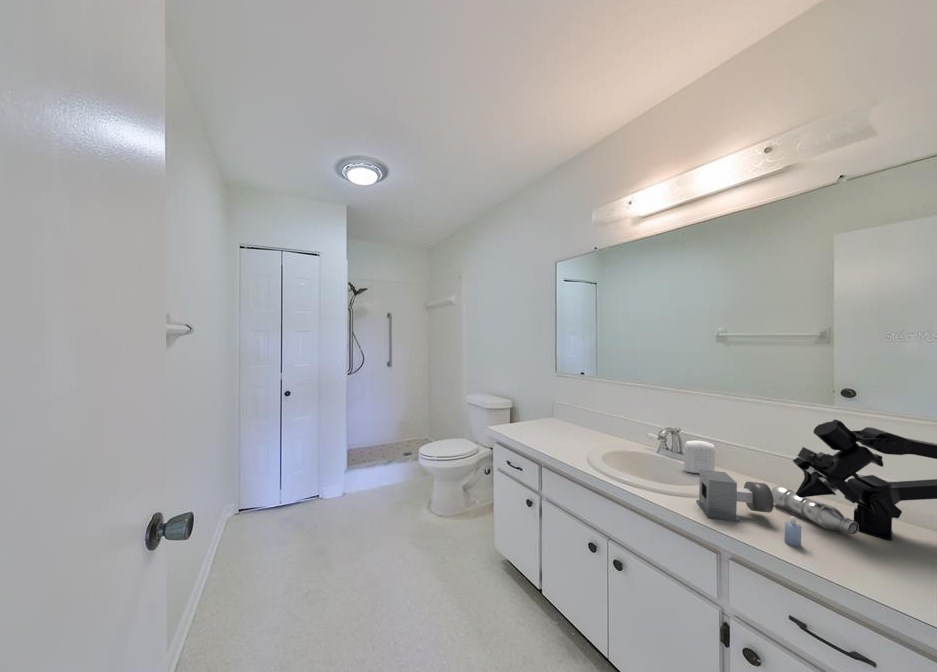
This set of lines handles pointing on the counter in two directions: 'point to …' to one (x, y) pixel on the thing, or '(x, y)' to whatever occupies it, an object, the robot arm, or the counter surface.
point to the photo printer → (698, 456)
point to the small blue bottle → (792, 533)
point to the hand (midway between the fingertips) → (797, 495)
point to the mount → (718, 495)
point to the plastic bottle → (813, 510)
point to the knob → (756, 496)
